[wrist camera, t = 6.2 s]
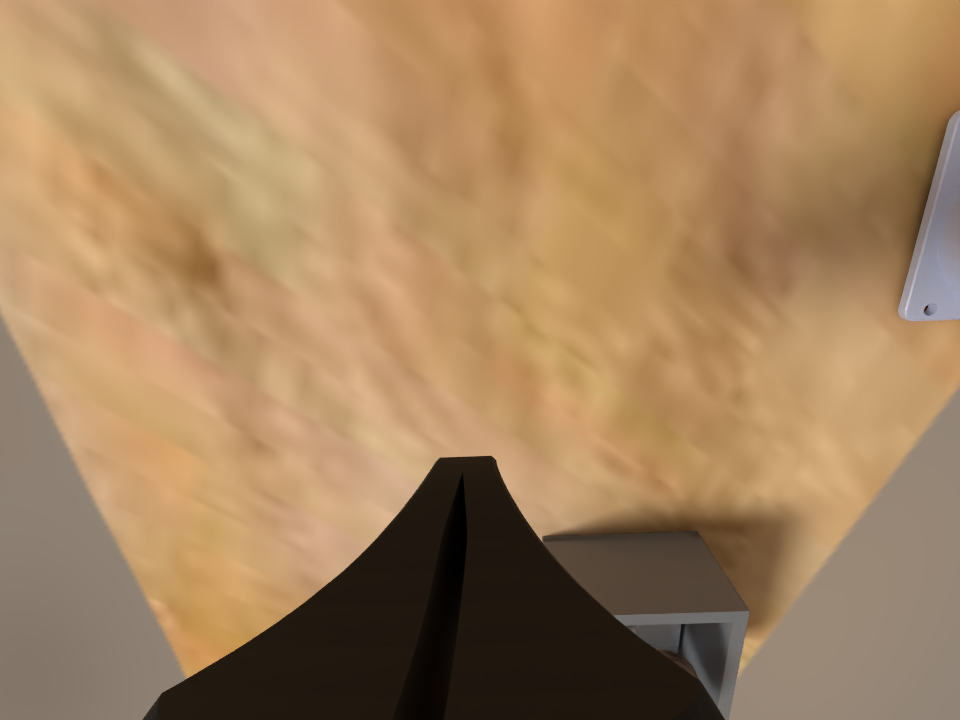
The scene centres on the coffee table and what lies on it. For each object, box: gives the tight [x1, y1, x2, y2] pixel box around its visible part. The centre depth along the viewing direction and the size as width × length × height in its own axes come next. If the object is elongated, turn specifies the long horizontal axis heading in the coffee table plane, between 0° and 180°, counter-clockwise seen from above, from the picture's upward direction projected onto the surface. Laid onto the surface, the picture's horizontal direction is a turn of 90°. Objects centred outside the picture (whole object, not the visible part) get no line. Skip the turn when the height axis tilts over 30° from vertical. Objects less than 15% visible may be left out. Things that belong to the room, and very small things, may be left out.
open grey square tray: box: [542, 531, 750, 720], centre depth 22 cm, size 8×8×5 cm
